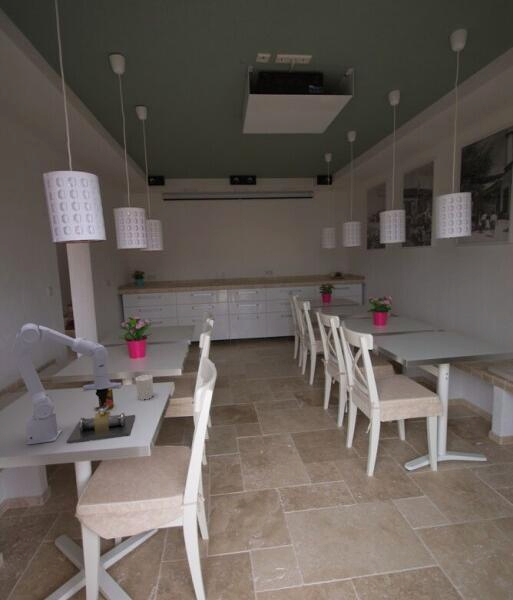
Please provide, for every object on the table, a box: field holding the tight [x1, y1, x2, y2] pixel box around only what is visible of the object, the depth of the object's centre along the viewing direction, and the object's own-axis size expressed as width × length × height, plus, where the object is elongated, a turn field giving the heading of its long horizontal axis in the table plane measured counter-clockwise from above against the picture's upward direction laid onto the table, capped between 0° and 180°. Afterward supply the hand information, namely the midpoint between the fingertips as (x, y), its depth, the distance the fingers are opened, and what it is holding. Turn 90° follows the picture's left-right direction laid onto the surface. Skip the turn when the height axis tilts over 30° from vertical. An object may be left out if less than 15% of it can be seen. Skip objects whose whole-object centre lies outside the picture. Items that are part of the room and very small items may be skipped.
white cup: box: [134, 374, 154, 401], centre depth 168 cm, size 8×8×10 cm
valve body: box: [66, 411, 136, 444], centre depth 138 cm, size 22×16×7 cm
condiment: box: [93, 389, 117, 415], centre depth 157 cm, size 7×8×12 cm
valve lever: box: [98, 400, 114, 414], centre depth 141 cm, size 10×2×2 cm, turn 3°
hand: (104, 406), depth 144 cm, fingers closed, pressing on valve lever
